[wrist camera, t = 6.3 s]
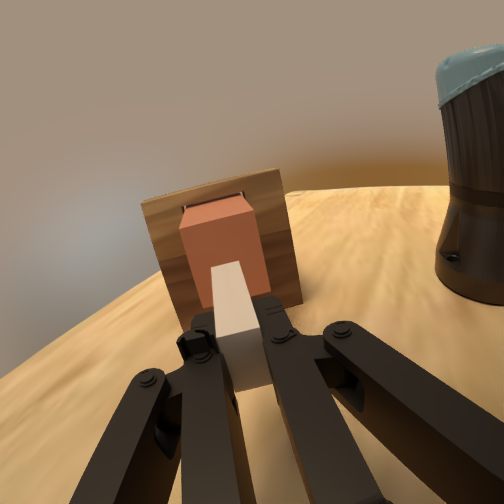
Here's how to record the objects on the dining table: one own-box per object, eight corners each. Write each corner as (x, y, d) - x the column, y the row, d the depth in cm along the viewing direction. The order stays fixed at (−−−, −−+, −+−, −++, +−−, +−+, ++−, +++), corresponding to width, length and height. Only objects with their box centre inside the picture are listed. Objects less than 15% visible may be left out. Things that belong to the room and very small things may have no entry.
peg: (271, 291, 22) (253, 210, 20) (203, 308, 22) (178, 229, 20) (245, 237, 35) (234, 186, 33) (202, 248, 35) (189, 197, 33)
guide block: (302, 303, 31) (279, 169, 26) (184, 333, 30) (140, 203, 25) (273, 257, 44) (254, 162, 39) (188, 278, 43) (162, 185, 39)
